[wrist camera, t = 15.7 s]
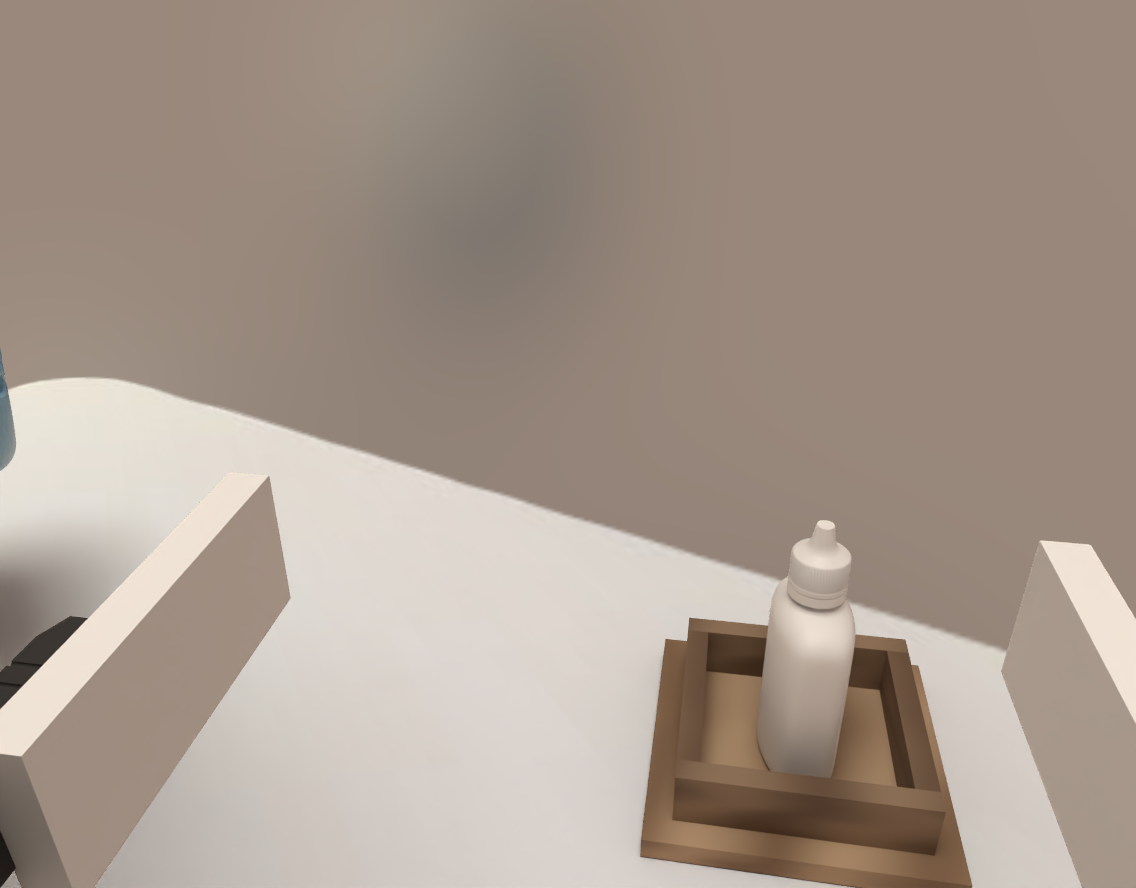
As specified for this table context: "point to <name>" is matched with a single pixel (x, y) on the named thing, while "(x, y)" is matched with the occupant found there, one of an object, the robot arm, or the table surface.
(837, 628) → the eye dropper bottle
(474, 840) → the table surface
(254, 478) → the robot arm
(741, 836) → the square wooden tray stand
